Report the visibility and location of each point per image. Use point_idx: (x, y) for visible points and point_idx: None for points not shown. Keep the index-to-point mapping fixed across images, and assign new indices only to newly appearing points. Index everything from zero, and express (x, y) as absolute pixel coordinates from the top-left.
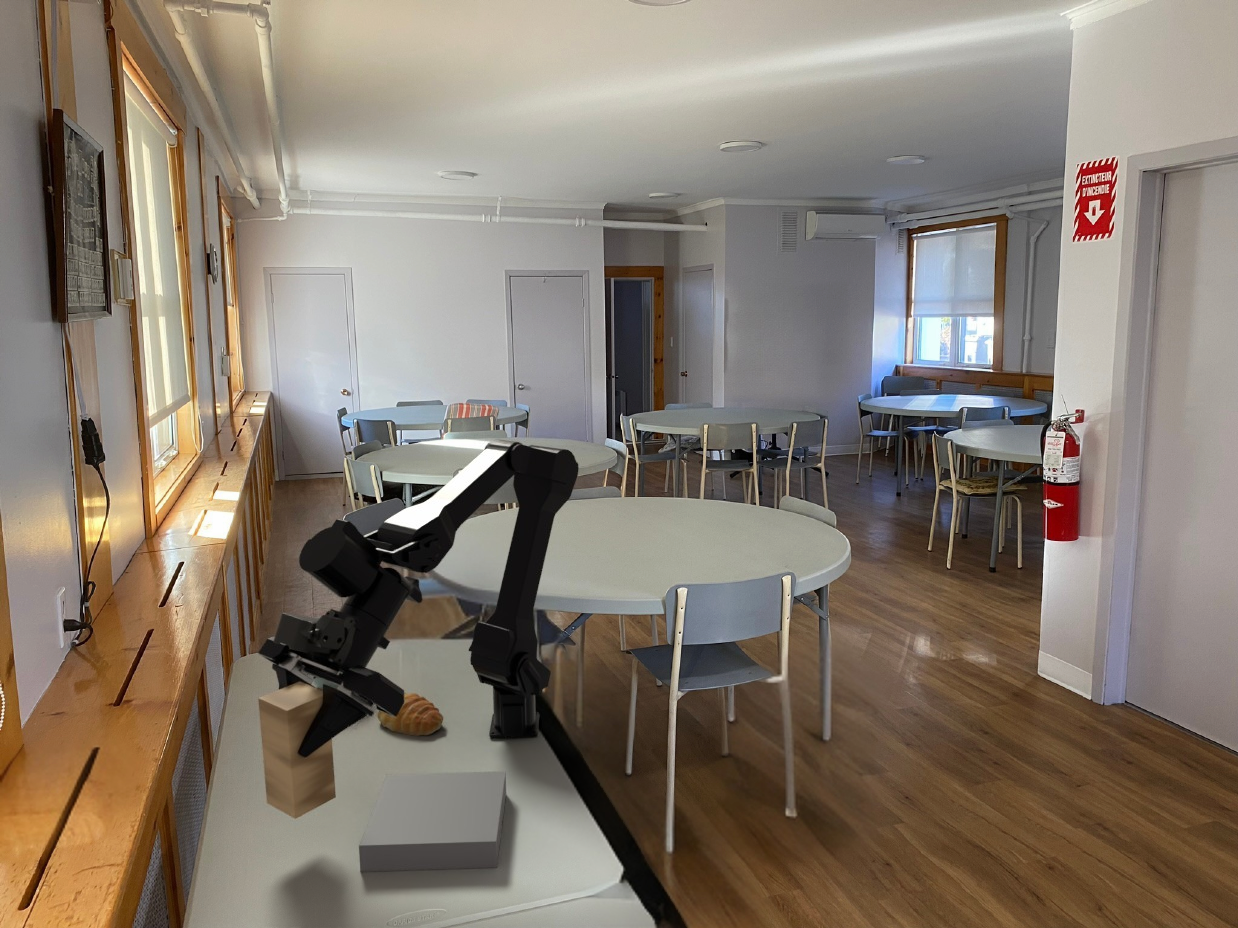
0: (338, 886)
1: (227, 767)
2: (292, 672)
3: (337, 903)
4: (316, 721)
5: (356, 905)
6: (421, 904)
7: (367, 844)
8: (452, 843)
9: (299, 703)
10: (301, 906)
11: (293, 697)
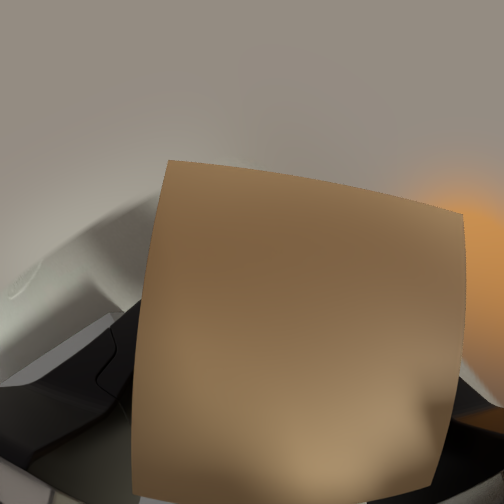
0: (128, 274)
1: (469, 375)
2: (494, 477)
3: (107, 247)
4: (127, 337)
5: (85, 256)
6: (30, 294)
7: (100, 320)
8: (19, 371)
9: (175, 287)
10: (143, 221)
11: (300, 336)
